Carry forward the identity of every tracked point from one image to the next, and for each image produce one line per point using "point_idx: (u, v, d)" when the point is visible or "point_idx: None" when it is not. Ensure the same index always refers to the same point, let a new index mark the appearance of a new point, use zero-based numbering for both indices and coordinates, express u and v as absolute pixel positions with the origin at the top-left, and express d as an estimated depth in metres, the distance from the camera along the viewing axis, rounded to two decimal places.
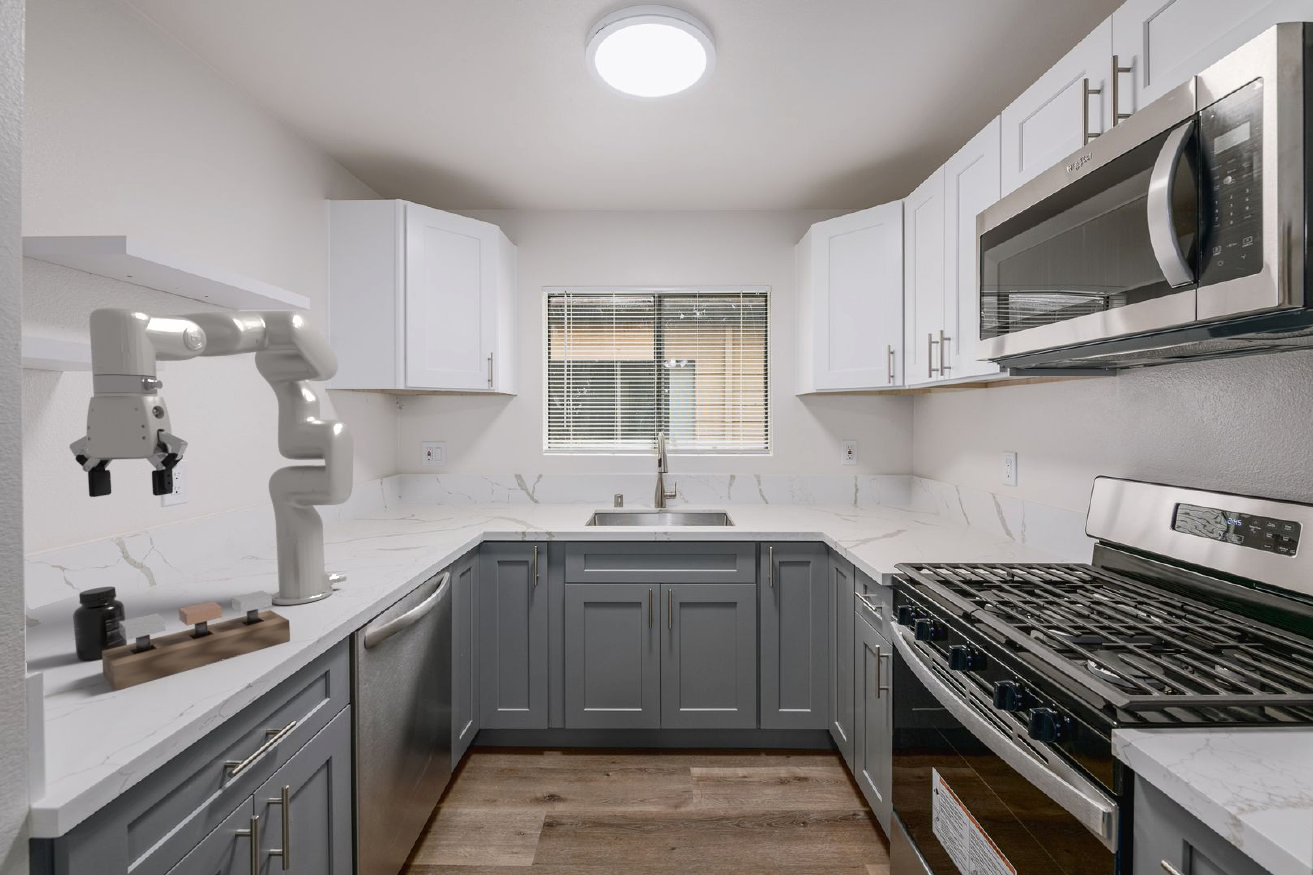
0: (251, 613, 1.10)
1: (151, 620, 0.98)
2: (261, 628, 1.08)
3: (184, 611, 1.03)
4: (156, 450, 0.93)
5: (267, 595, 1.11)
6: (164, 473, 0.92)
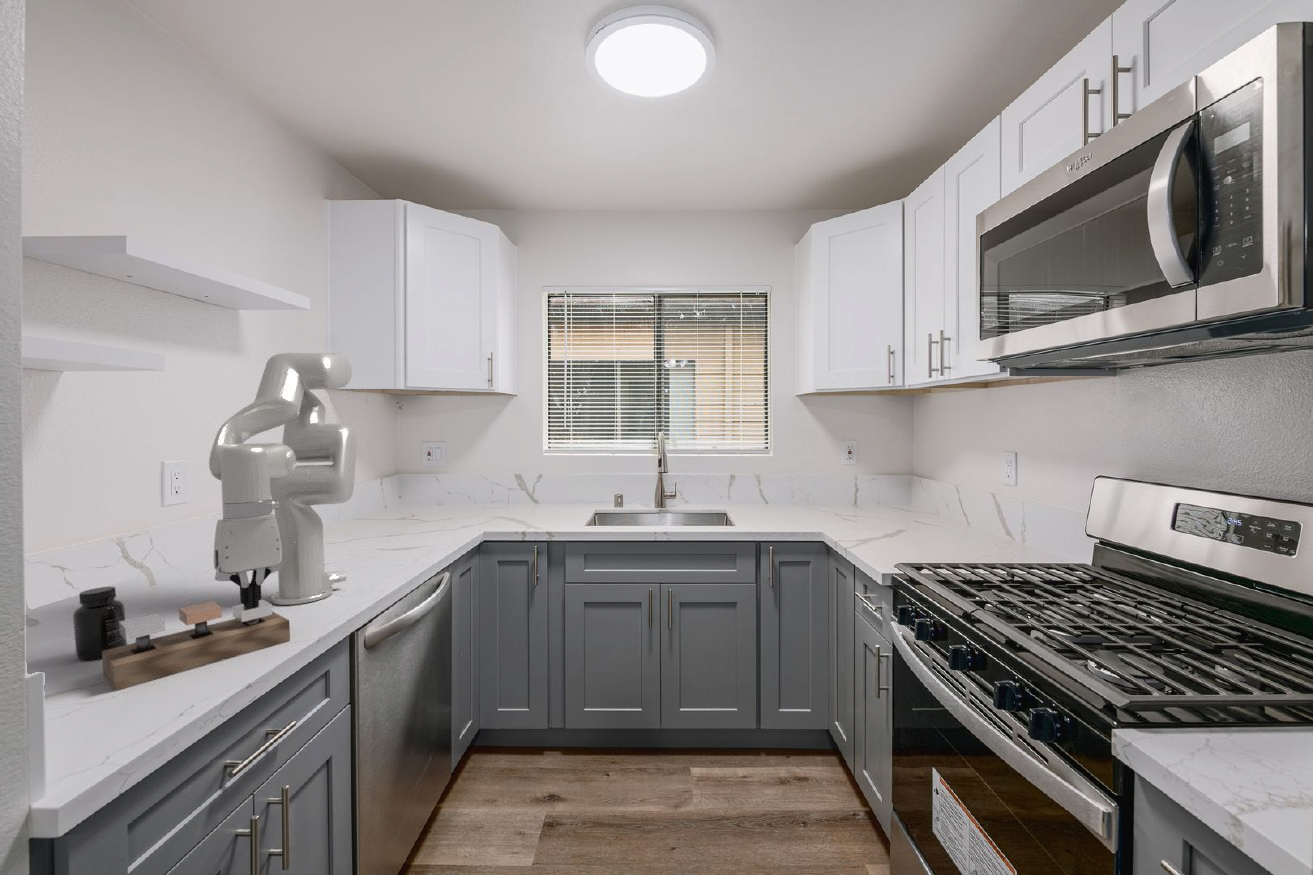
0: (252, 623, 1.10)
1: (151, 620, 0.98)
2: (261, 628, 1.08)
3: (184, 611, 1.03)
4: None
5: (267, 604, 1.11)
6: (260, 586, 1.11)
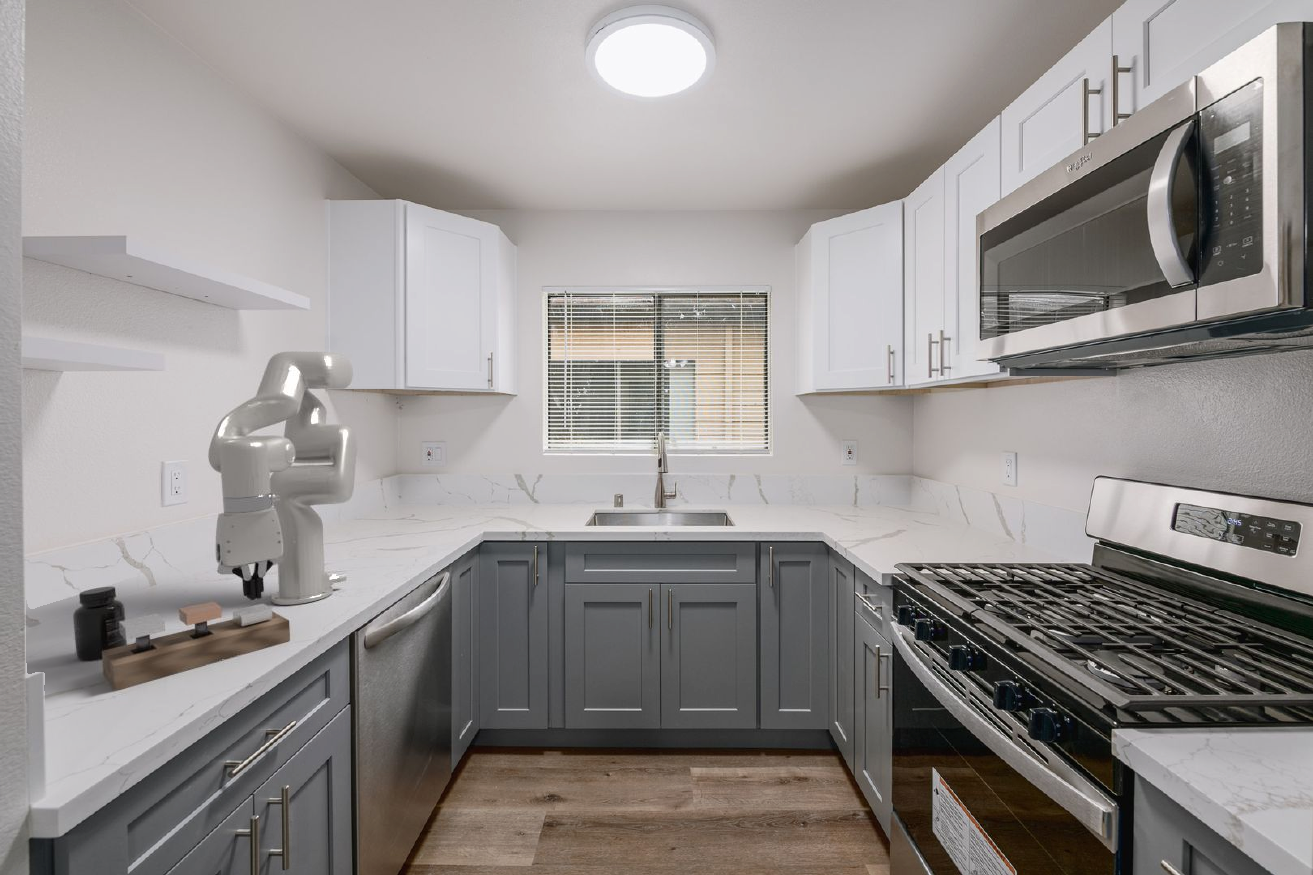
0: None
1: (151, 620, 0.98)
2: (261, 628, 1.08)
3: (184, 611, 1.03)
4: None
5: (268, 608, 1.11)
6: (262, 579, 1.12)
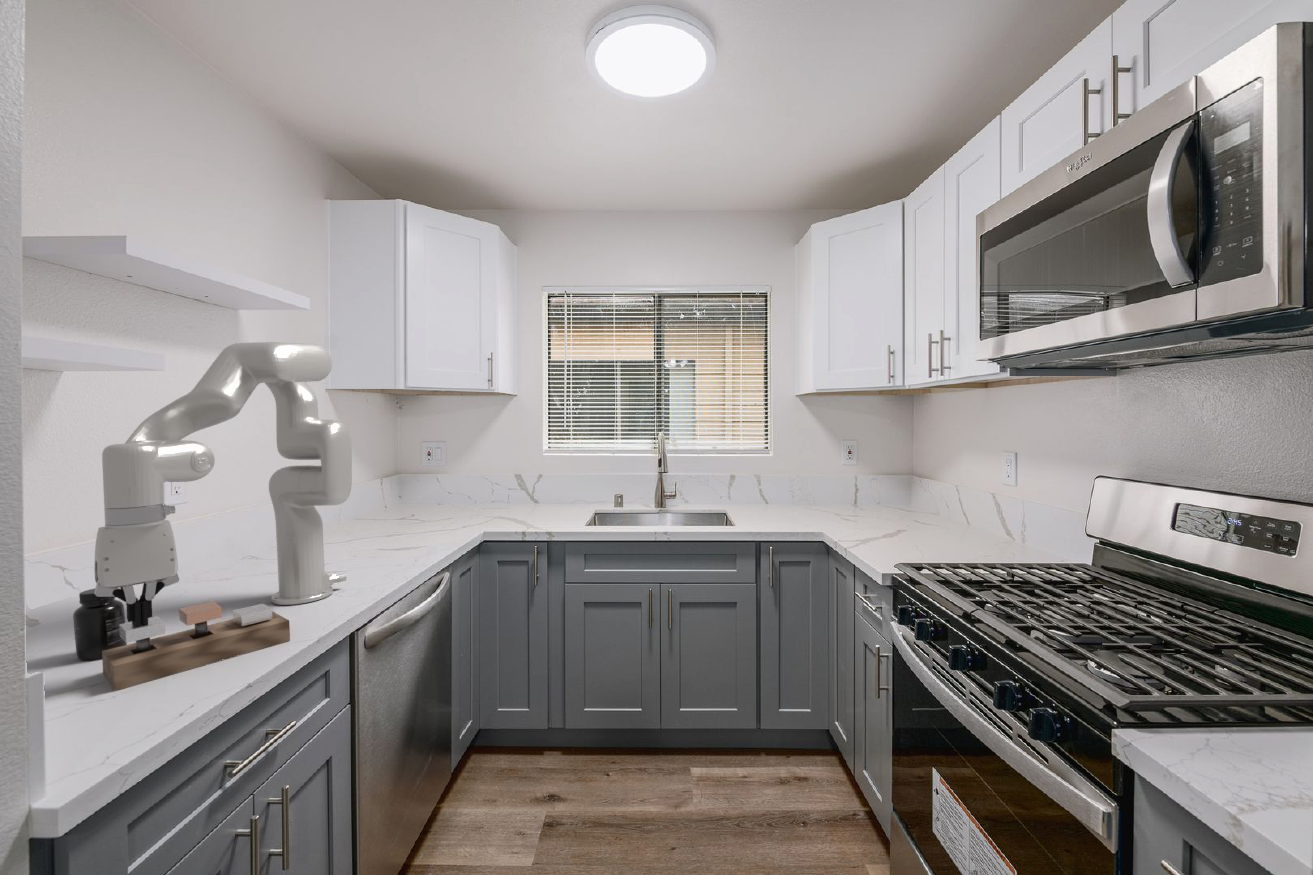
0: None
1: (151, 623, 0.98)
2: (261, 628, 1.08)
3: (184, 611, 1.03)
4: None
5: (268, 608, 1.11)
6: (151, 602, 0.99)
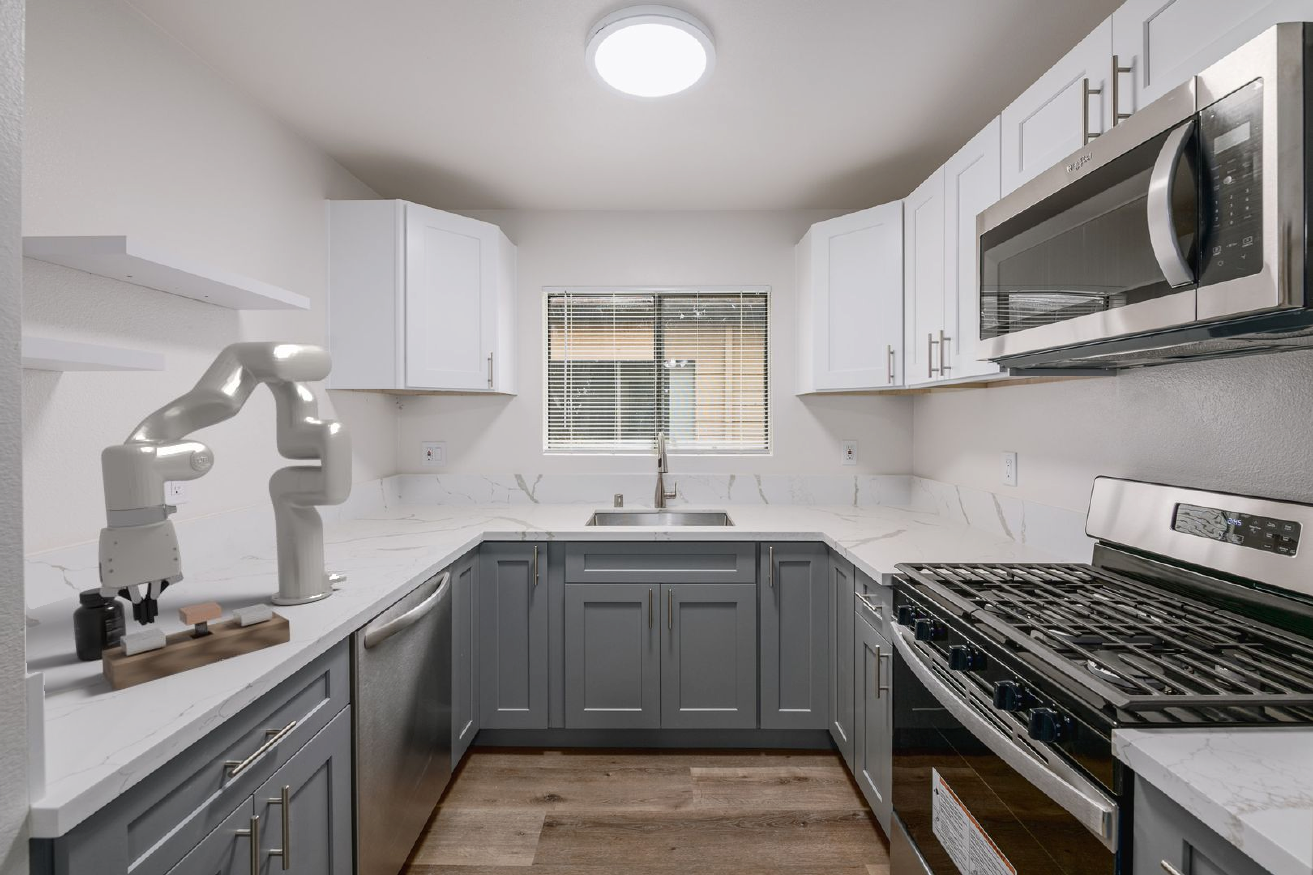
0: None
1: (152, 635, 0.98)
2: (261, 628, 1.08)
3: (184, 611, 1.03)
4: None
5: (268, 608, 1.11)
6: (156, 601, 1.00)
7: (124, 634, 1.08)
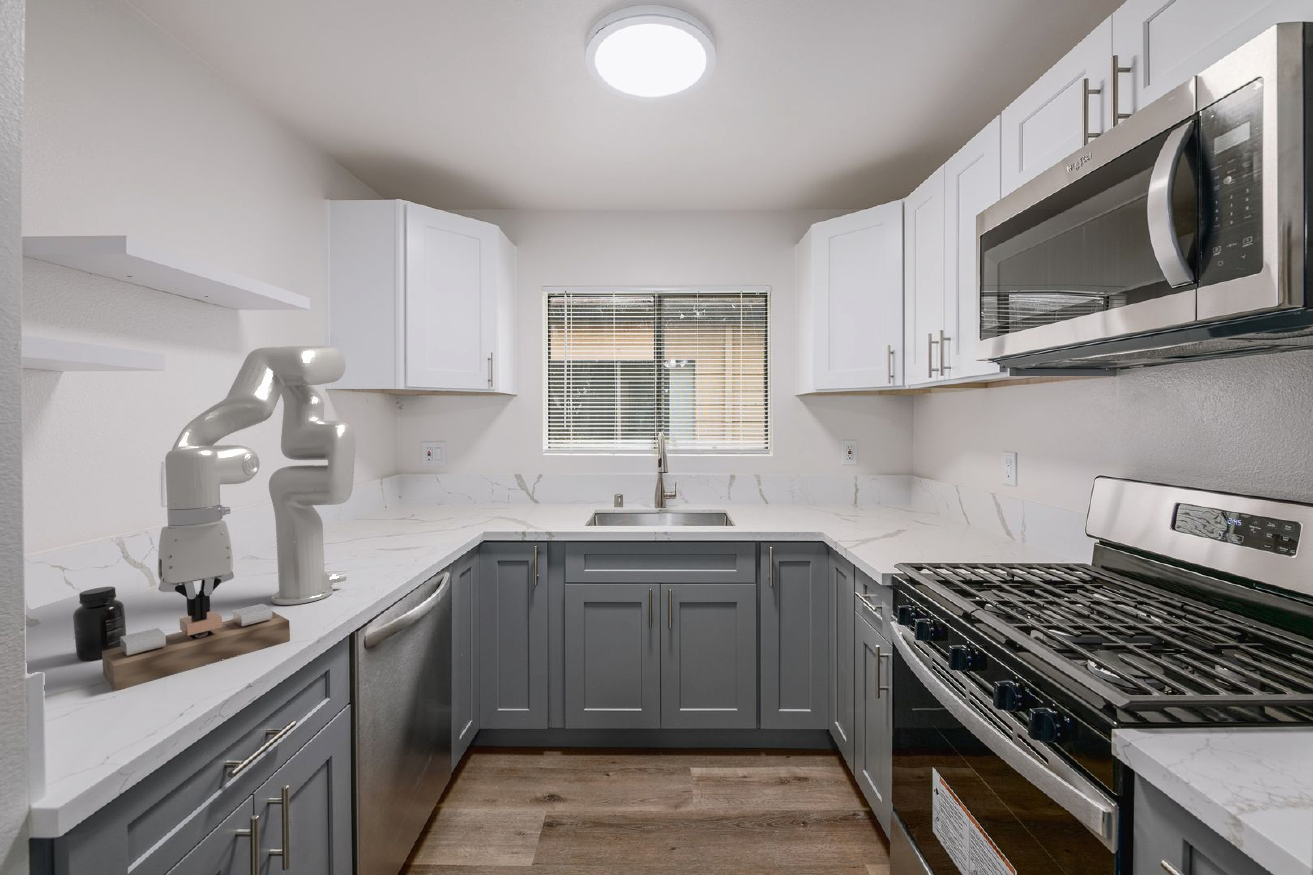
0: None
1: (152, 635, 0.98)
2: (261, 628, 1.08)
3: (185, 621, 1.03)
4: None
5: (268, 608, 1.11)
6: (209, 597, 1.05)
7: (124, 634, 1.08)
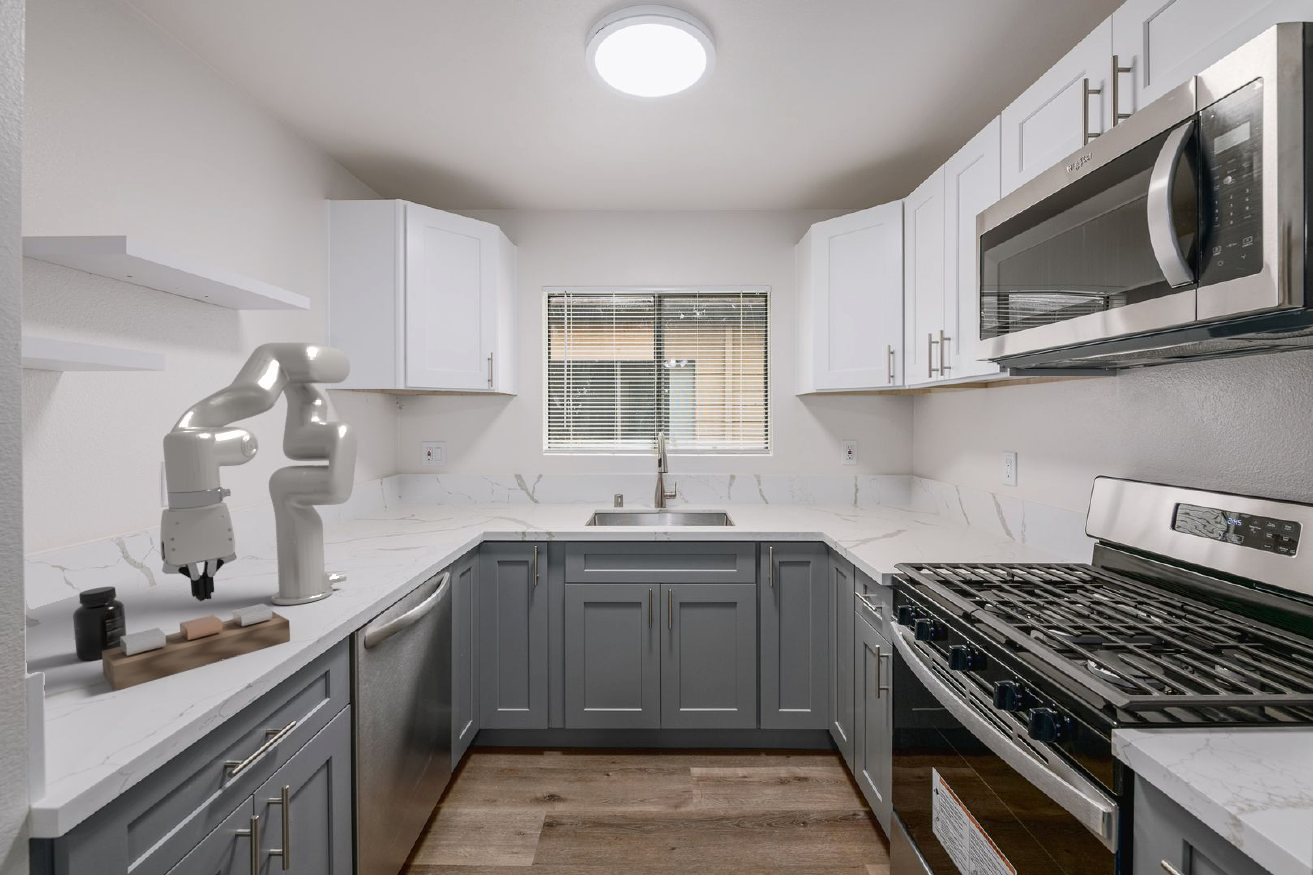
0: None
1: (152, 635, 0.98)
2: (261, 628, 1.08)
3: (185, 625, 1.03)
4: None
5: (268, 608, 1.11)
6: (212, 578, 1.06)
7: (124, 634, 1.08)
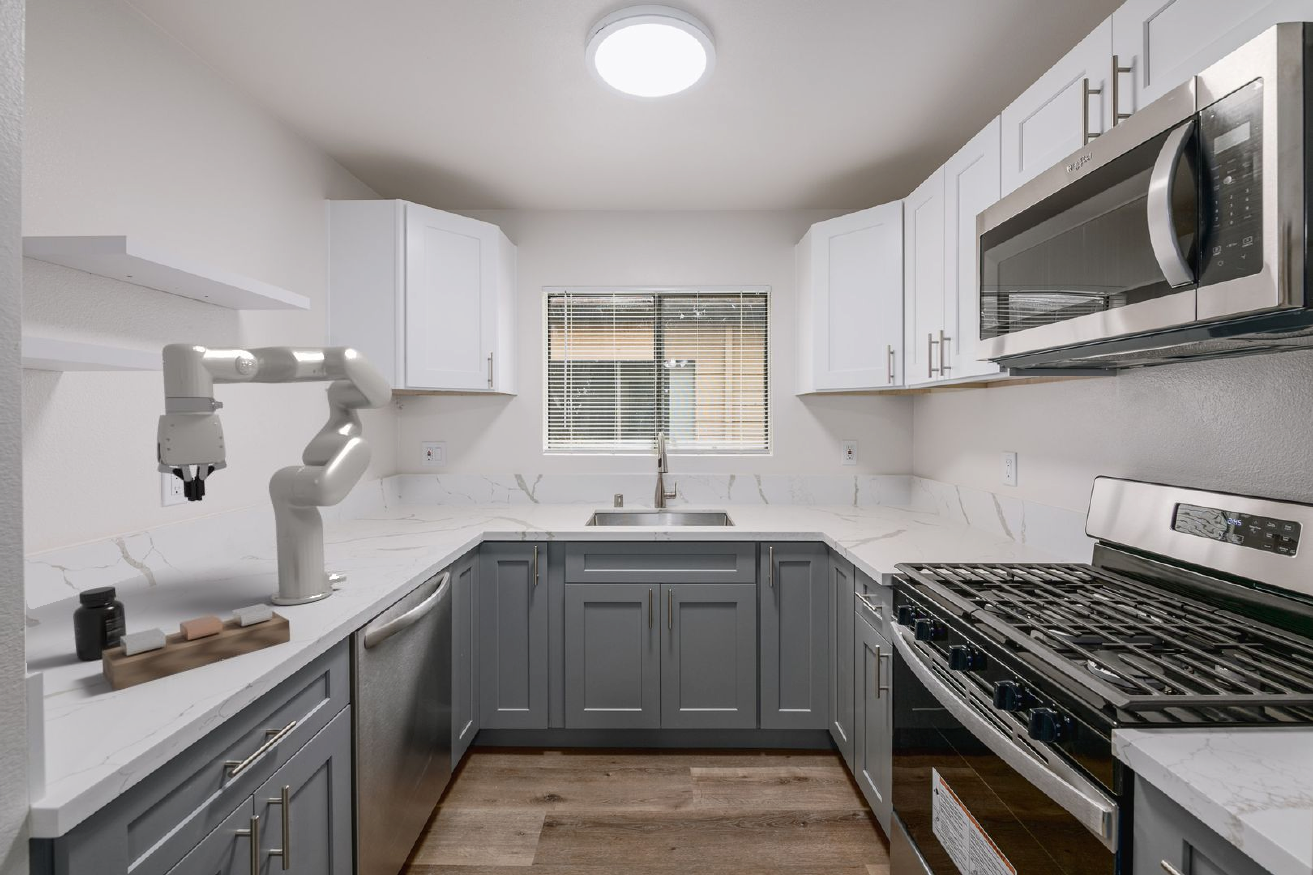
0: None
1: (152, 635, 0.98)
2: (261, 628, 1.08)
3: (185, 625, 1.03)
4: None
5: (268, 608, 1.11)
6: (204, 482, 1.15)
7: (124, 634, 1.08)
